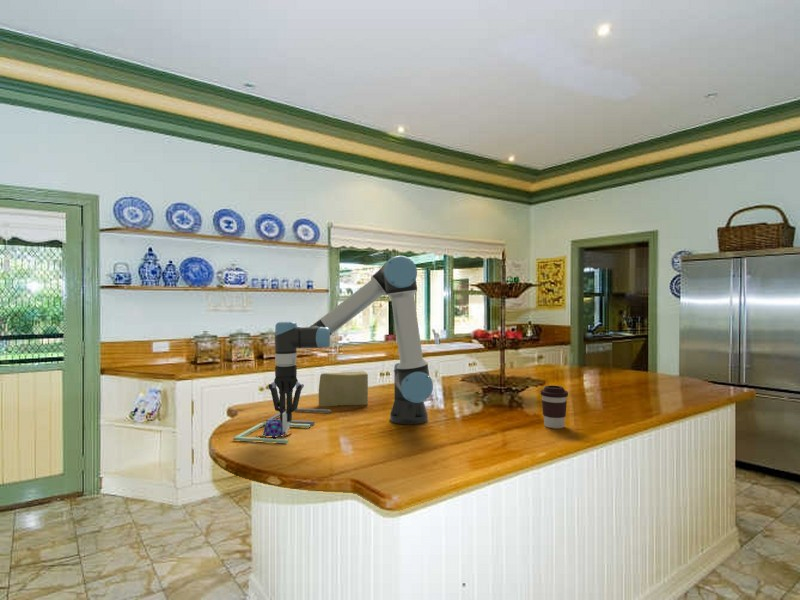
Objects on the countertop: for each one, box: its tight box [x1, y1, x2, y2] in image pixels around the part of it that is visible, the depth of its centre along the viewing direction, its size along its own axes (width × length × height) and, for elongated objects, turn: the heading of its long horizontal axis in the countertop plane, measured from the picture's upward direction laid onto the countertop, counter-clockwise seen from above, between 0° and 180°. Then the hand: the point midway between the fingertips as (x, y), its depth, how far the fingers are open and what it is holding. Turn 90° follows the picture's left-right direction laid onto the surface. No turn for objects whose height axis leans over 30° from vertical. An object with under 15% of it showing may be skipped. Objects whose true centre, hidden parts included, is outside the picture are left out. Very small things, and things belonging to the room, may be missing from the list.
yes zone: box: [232, 421, 311, 444], centre depth 167 cm, size 20×21×1 cm
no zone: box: [265, 407, 332, 426], centre depth 191 cm, size 20×21×1 cm
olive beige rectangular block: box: [318, 370, 369, 407], centre depth 214 cm, size 22×10×15 cm, turn 105°
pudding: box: [262, 419, 286, 437], centre depth 166 cm, size 12×12×5 cm
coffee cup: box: [540, 385, 569, 430], centre depth 176 cm, size 10×10×15 cm
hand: (286, 430), depth 166 cm, fingers closed
